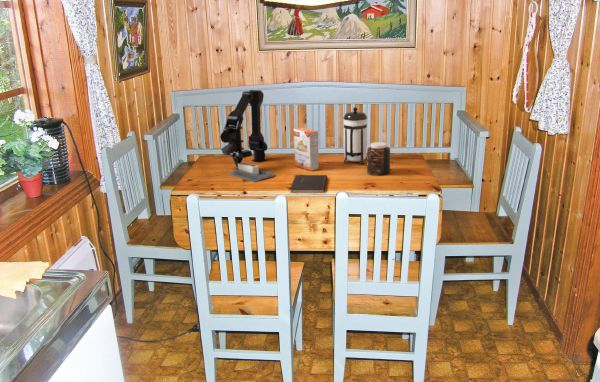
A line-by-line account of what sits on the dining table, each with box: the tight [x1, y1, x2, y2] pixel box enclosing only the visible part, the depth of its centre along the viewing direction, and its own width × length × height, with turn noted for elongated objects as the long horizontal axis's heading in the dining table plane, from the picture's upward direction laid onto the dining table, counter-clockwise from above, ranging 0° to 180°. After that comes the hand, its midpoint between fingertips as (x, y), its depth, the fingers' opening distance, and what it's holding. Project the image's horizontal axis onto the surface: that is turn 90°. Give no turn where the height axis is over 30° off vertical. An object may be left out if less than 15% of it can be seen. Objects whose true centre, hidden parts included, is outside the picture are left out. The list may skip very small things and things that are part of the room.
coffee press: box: [342, 107, 368, 165], centre depth 303 cm, size 17×16×30 cm
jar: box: [366, 141, 391, 176], centre depth 284 cm, size 12×12×15 cm
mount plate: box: [227, 168, 276, 183], centre depth 290 cm, size 21×14×3 cm, turn 44°
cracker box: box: [293, 126, 320, 172], centre depth 297 cm, size 14×6×21 cm, turn 37°
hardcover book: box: [289, 174, 328, 194], centre depth 270 cm, size 16×23×2 cm
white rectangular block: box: [237, 161, 260, 174], centre depth 291 cm, size 12×4×4 cm, turn 44°
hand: (237, 167), depth 297 cm, fingers closed
